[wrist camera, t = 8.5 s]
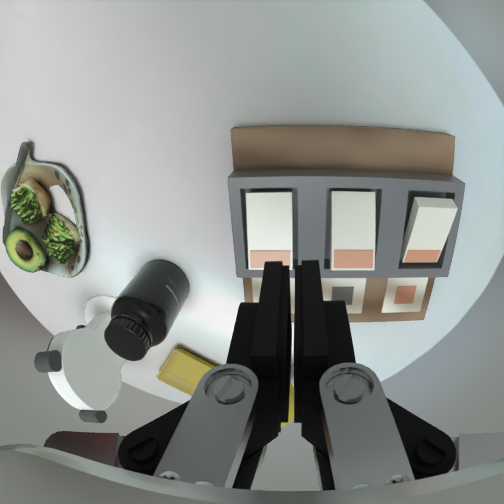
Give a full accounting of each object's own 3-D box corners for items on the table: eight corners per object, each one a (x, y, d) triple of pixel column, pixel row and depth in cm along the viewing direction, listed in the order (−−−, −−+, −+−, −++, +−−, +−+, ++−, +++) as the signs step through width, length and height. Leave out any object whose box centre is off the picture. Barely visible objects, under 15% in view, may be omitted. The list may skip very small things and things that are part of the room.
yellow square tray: (230, 366, 46) (228, 376, 44) (206, 392, 50) (203, 402, 48) (178, 339, 45) (174, 348, 43) (159, 368, 49) (155, 378, 47)
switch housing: (233, 170, 31) (227, 178, 28) (452, 175, 27) (465, 183, 25) (241, 262, 35) (236, 277, 32) (438, 262, 32) (447, 276, 29)
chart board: (234, 127, 30) (230, 129, 28) (446, 133, 27) (456, 136, 25) (249, 311, 40) (246, 322, 38) (419, 310, 37) (424, 321, 35)
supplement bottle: (199, 277, 39) (166, 345, 28) (176, 312, 42) (144, 378, 32) (151, 247, 38) (103, 305, 27) (133, 285, 41) (89, 344, 31)
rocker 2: (329, 192, 29) (331, 191, 28) (371, 193, 29) (375, 191, 27) (329, 268, 30) (331, 270, 28) (371, 267, 29) (374, 270, 28)
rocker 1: (248, 191, 30) (245, 193, 28) (291, 191, 29) (291, 192, 28) (250, 265, 31) (248, 270, 30) (292, 265, 31) (292, 270, 29)
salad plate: (-2, 139, 34) (-24, 147, 30) (87, 140, 33) (64, 148, 29) (13, 255, 43) (-4, 269, 39) (96, 279, 42) (80, 297, 38)
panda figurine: (71, 299, 44) (16, 363, 31) (122, 283, 41) (64, 359, 28) (111, 356, 49) (71, 424, 36) (164, 348, 46) (127, 429, 33)
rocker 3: (414, 196, 26) (419, 208, 25) (452, 199, 25) (458, 209, 24) (399, 252, 31) (402, 263, 30) (433, 252, 30) (437, 263, 29)
